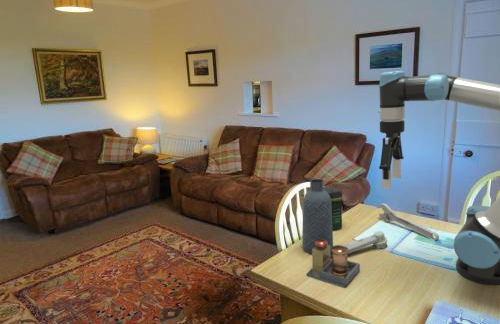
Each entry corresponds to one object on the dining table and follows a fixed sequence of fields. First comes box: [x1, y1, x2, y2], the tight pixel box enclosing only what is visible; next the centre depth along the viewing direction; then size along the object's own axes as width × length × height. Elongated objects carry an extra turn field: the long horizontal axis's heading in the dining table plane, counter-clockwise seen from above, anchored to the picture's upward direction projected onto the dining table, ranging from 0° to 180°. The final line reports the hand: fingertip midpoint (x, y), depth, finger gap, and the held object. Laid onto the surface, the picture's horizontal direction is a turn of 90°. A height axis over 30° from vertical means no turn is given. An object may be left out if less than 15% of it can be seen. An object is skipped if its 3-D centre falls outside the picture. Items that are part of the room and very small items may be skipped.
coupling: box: [331, 244, 349, 277], centre depth 125 cm, size 6×6×9 cm
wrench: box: [376, 202, 440, 241], centre depth 159 cm, size 8×2×30 cm
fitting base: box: [306, 239, 361, 289], centre depth 126 cm, size 14×13×11 cm
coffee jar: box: [324, 185, 343, 231], centre depth 163 cm, size 10×8×19 cm
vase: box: [301, 178, 334, 255], centre depth 143 cm, size 12×12×28 cm
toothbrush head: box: [330, 230, 388, 258], centre depth 141 cm, size 5×7×25 cm
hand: (391, 182), depth 123 cm, fingers open, 13 cm apart
